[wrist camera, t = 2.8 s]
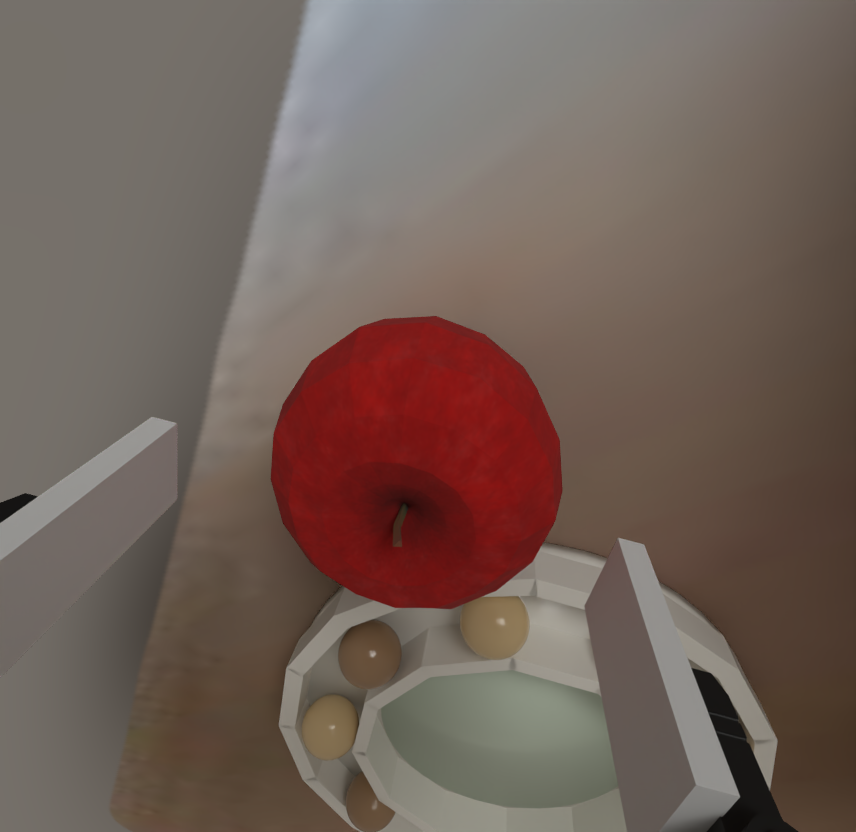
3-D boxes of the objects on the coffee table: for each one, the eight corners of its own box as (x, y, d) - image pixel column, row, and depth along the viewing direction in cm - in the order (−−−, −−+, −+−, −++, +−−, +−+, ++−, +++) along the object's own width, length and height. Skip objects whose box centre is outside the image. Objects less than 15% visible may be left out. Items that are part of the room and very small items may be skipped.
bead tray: (327, 481, 26) (295, 535, 23) (852, 622, 26) (914, 705, 22) (283, 772, 39) (257, 841, 35) (636, 876, 38) (651, 958, 34)
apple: (361, 250, 21) (233, 321, 12) (585, 319, 21) (647, 449, 11) (322, 449, 26) (206, 619, 16) (506, 506, 26) (502, 713, 16)
